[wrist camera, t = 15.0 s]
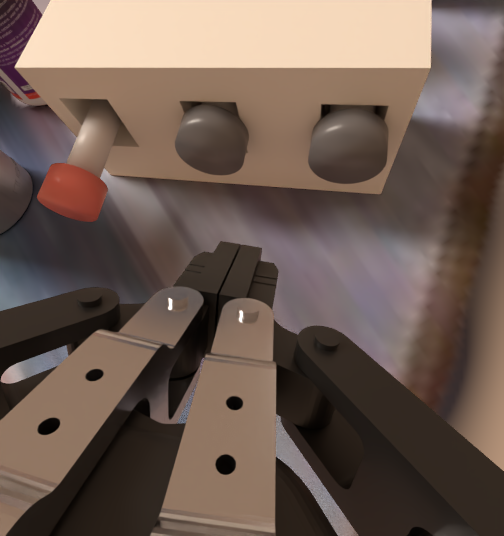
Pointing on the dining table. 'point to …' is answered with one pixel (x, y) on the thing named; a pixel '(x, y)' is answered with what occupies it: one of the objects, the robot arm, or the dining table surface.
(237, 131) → the knob
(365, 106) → the knob
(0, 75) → the pill bottle
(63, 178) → the red knob
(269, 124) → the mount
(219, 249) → the robot arm
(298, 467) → the dining table surface
